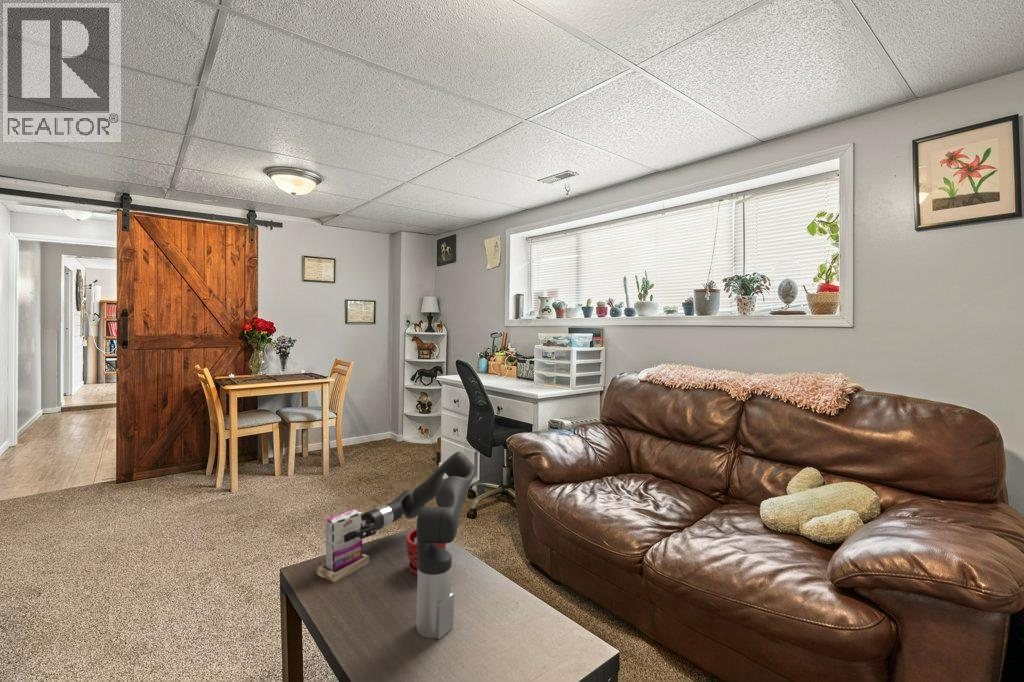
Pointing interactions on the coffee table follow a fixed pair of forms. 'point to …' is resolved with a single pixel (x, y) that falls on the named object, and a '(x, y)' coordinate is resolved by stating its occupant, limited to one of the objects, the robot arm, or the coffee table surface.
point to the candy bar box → (342, 540)
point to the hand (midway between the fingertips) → (338, 536)
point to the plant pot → (415, 550)
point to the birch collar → (345, 571)
